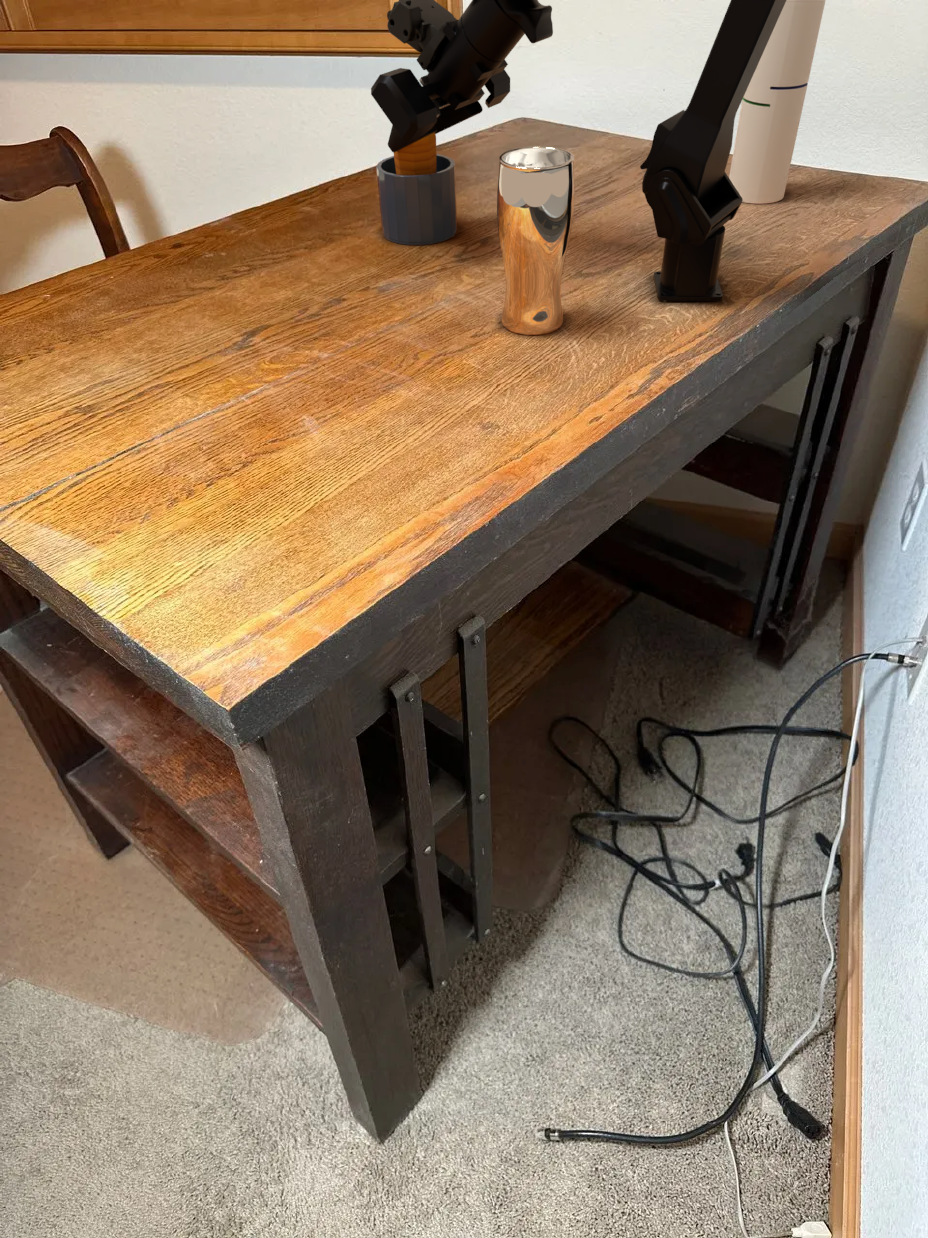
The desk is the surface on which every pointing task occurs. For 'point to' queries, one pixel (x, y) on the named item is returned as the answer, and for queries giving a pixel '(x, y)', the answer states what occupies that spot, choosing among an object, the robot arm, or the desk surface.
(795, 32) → the cylindrical container
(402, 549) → the desk surface
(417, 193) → the cup
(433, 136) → the carrot
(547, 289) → the beer glass
